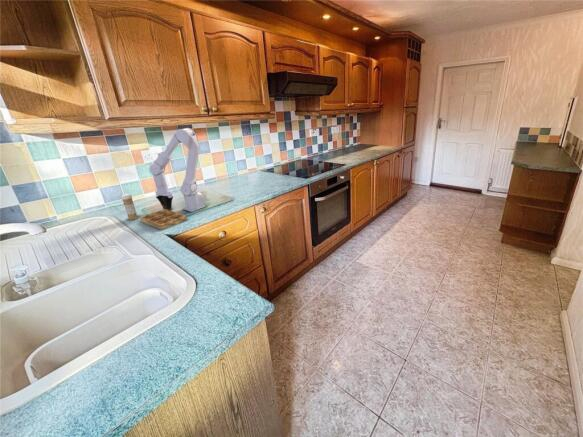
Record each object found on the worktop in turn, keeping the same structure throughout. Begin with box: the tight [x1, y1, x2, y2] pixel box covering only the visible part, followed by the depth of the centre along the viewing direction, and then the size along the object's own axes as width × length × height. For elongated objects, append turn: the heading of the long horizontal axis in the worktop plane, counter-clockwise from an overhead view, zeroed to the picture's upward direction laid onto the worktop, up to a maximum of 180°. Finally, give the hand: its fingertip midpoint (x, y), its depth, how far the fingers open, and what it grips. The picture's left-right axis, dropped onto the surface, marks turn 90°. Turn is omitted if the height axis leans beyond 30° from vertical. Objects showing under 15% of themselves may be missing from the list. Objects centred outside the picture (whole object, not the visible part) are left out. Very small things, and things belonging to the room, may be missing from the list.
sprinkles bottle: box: [120, 193, 139, 221], centre depth 137 cm, size 5×5×14 cm
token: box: [161, 204, 173, 211], centre depth 149 cm, size 4×4×4 cm
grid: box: [140, 209, 188, 231], centre depth 134 cm, size 14×20×2 cm
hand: (167, 207), depth 149 cm, fingers closed on token, 4 cm apart
